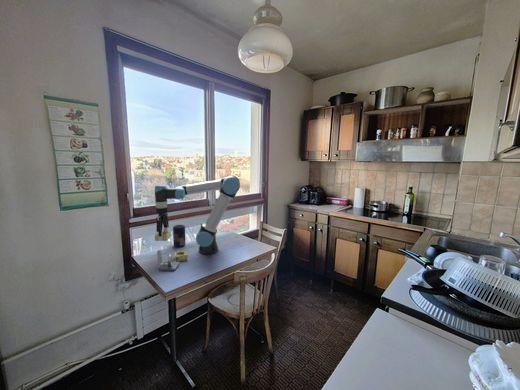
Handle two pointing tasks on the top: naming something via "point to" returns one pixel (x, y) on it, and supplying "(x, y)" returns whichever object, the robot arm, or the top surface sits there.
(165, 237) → the link
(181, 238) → the canister
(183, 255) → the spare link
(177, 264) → the keeper
